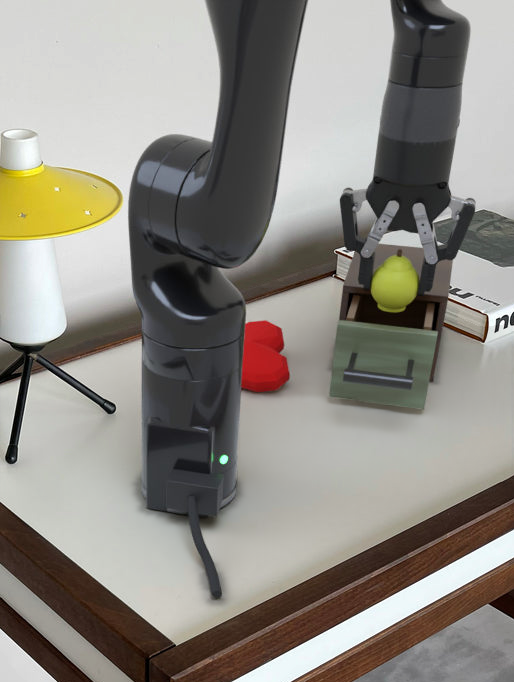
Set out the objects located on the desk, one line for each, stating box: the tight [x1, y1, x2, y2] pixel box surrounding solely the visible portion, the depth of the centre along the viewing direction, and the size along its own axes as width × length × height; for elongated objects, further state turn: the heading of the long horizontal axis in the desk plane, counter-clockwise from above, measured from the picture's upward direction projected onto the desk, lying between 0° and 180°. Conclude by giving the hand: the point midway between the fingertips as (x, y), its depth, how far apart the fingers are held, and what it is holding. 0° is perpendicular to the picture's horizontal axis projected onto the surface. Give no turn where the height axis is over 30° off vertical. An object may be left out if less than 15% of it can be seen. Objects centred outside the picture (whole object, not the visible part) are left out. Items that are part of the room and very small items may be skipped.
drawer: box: [328, 293, 438, 410], centre depth 113 cm, size 19×10×9 cm, turn 163°
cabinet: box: [338, 243, 454, 383], centre depth 122 cm, size 15×12×11 cm
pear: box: [370, 249, 420, 312], centre depth 109 cm, size 5×5×7 cm
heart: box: [241, 319, 291, 393], centre depth 119 cm, size 12×4×10 cm
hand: (394, 290), depth 110 cm, fingers closed on pear, 5 cm apart
